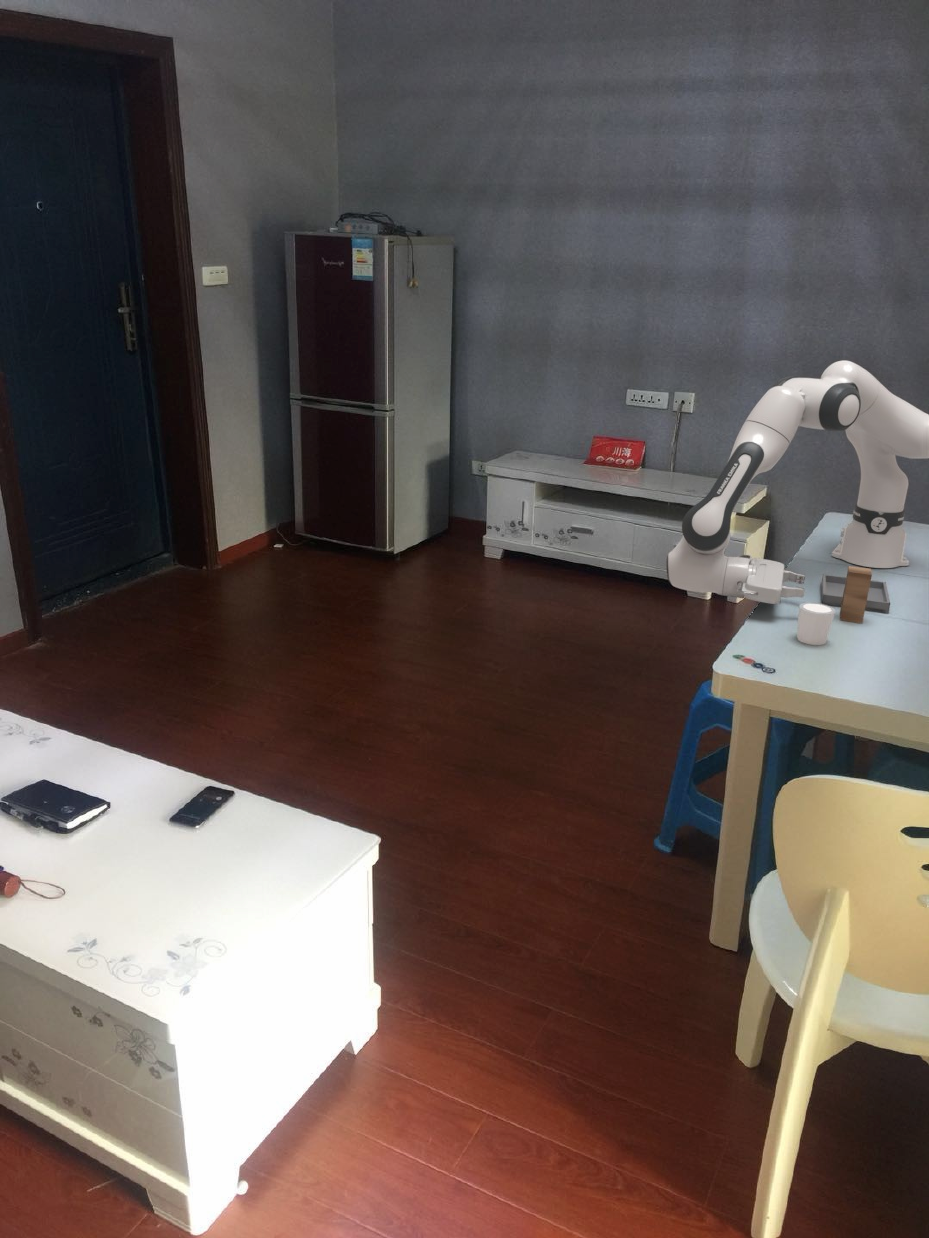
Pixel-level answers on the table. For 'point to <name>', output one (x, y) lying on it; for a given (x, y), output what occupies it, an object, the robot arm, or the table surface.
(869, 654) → the table surface
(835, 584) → the charcoal tray
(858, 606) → the walnut block
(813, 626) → the white cup
